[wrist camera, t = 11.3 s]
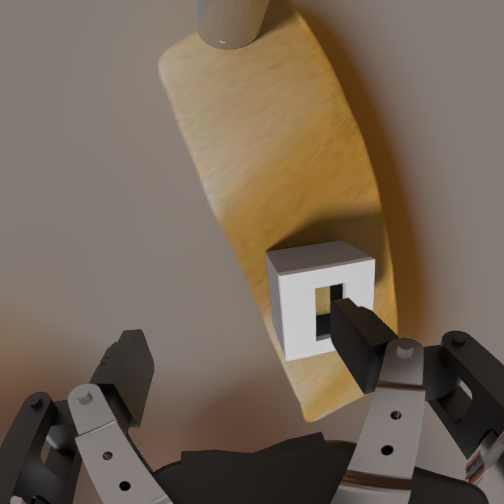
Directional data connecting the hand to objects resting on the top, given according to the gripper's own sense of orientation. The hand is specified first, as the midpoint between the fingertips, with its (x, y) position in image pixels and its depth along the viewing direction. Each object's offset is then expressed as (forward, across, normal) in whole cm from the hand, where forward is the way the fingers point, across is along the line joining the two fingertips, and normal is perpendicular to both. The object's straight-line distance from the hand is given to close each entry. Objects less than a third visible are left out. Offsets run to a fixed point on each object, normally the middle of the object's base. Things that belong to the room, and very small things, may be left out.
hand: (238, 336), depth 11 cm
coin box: (+28, -11, +11) cm, 32 cm away
